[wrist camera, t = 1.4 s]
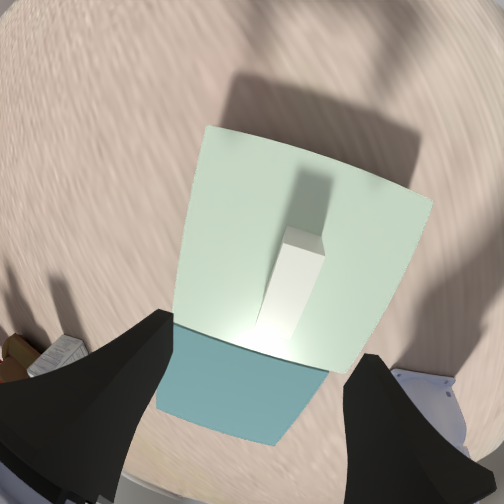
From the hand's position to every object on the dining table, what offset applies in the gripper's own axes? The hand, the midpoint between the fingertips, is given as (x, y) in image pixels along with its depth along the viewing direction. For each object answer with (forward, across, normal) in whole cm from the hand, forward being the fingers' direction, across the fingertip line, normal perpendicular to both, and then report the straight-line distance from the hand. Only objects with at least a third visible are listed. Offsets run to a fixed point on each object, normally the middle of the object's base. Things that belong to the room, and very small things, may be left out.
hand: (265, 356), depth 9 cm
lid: (+8, -1, 0) cm, 8 cm away
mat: (+10, +1, +18) cm, 21 cm away
